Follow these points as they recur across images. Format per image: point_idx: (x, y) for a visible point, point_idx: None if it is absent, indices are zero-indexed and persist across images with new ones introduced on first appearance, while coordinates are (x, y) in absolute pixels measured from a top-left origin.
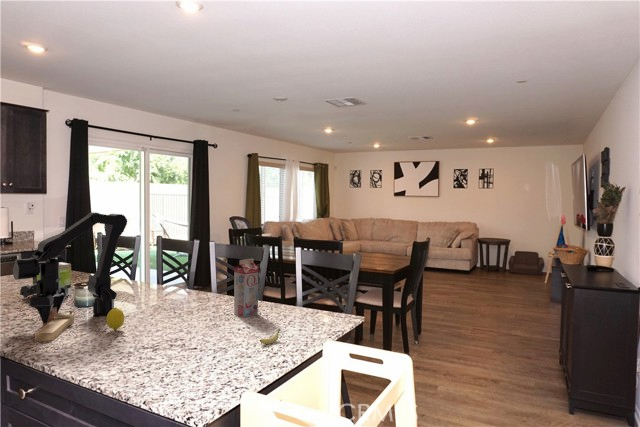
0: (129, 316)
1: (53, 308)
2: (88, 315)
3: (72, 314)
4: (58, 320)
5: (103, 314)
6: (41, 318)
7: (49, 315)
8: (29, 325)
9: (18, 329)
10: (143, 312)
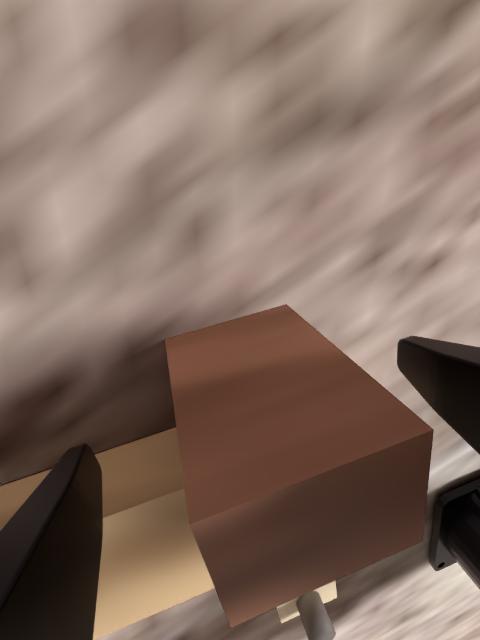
0: (397, 626)
1: (330, 573)
2: (471, 450)
3: (287, 614)
4: (175, 544)
5: (442, 542)
6: (13, 521)
7: (89, 613)
8: (221, 120)
9: (6, 61)
10: (451, 625)
